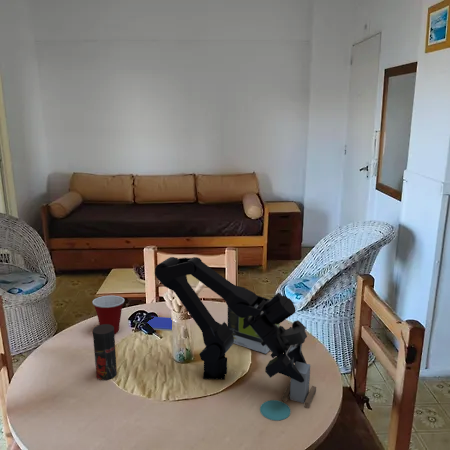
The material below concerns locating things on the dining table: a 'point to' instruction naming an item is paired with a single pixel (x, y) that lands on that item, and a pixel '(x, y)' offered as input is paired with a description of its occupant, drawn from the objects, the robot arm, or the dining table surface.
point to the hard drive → (161, 323)
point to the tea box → (245, 333)
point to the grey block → (297, 388)
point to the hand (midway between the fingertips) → (305, 376)
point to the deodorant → (104, 352)
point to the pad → (275, 410)
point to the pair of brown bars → (308, 399)
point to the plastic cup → (109, 310)
